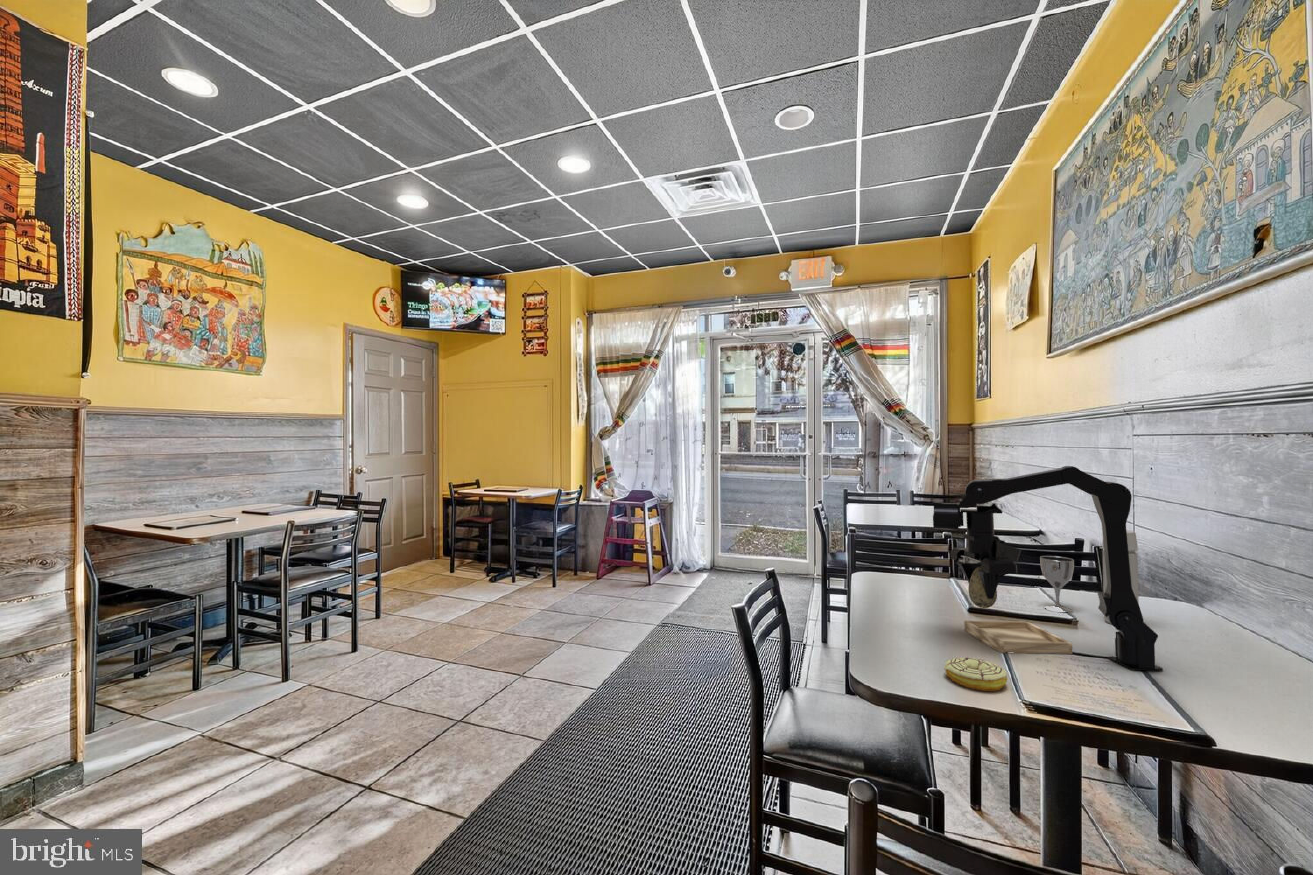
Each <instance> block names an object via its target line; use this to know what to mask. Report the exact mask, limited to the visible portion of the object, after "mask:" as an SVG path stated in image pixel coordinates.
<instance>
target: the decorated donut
mask: <svg viewBox="0 0 1313 875" xmlns="http://www.w3.org/2000/svg"><path fill="white" fill-rule="evenodd" d="M944 671H945V673H946V676H947V677H948V678H949V679H951V681H952V682H954V683H957V685H960V686H963V687H965V688H967V689H972V690H976V691H982V692H995V691H999V690H1001V689H1002V688H1003V687H1005V686H1006V684H1007V682H1008V673H1007V671H1006V670H1005V669H1004V668H1003V667H1001V666H1000V665H998V664H996V663H993V662H990V661H987V660H984V659H979V658H973V657H955V658H952V659H948V660H946V662H945V664H944Z"/></svg>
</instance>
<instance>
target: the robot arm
mask: <svg viewBox="0 0 1313 875" xmlns="http://www.w3.org/2000/svg"><path fill="white" fill-rule="evenodd" d="M1061 485H1071V486H1073V487H1075V488H1076V489H1079V491H1082V492H1084V493H1087V494H1088V495H1090V496H1091V497H1092V501H1093V504H1094V507H1095V511H1096V513H1097V514H1098V517H1099V519H1100V523H1101V530H1102V543H1104V549H1103V550H1104V554H1105V564H1106V575H1107V587H1106V590H1105V593H1104V592H1103V591H1099V590H1098V591H1097V592H1096V593H1097V597H1098V600H1099V606H1098V610H1099V611H1100V612H1101V613H1102V615H1103V617H1104V616H1105V617H1106V619H1107V620H1108V621H1109V622H1110V623H1111V624H1110V623H1109V624H1110V625H1111V626H1113V627H1114V628H1115V630H1117V631H1115V638H1114V641H1115V643H1114V648H1115V650H1114V651H1115V654H1114V655H1115V656H1108V659H1109V660H1111V661H1112V662H1115V663H1116V664H1118V665H1120V666H1123V667H1125V668H1126V669H1129V668H1130V669H1129V670H1131V669H1133V670H1132V671H1146V672H1147V671H1151V672H1153V671H1155V672H1157V671H1158V672H1160V671H1161V672H1162V671H1164V668H1162V667H1160V666H1158V665H1157V664H1156V656H1155V655H1156V652H1155V651H1156V648H1155V645H1156V642H1157V641H1158V637H1159V635H1158V633H1156V632H1155V631H1154V630H1153V629H1152V628H1151V627H1150V626H1149V625H1147V624H1146V623H1145V622H1144V616H1143V614H1142V610H1141V607H1140V604H1138V602H1137V599H1136V597H1135V594H1134V592H1133V590H1132V584H1131V573H1130V563H1129V552H1128V542H1127V531H1126V530H1127V521H1128V518H1129V515H1130V512H1131V505H1132V504H1131V503H1132V498H1133V497H1132V493H1131V491H1130V489H1129V488H1127V486H1125V485H1124V484H1122V483H1117V482H1114V481H1104V480H1102V479H1100V478H1097V477H1095V476H1093V475H1091V474H1090V473H1086V472H1084V471H1082V470H1080V468H1078V467H1076V466H1073V465H1064V466H1062V467H1060V468H1059V467H1058V468H1054V469H1049V470H1044V471H1039V472H1033V473H1028V474H1022V475H1017V476H1012V477H1007V478H982V479H973V480H971V481H969V482H968V483H967V484H966V485H965V489H964V491H965V494H964V495H963V496H962V497H961V498H960V499H958V500H959V501H958V502H955V503H953V502H942V501H941V502H940V501H934V502H933V514H932V524H933V530H948V531H959V528H962V527H964V513H965V514H966V515H965V516H966V533H963V539H965V540H966V542H967V547H953V548H952V549H951V550H950V559H951V560H955V561H956V564H957V565H958V566H959V569H960V570H961V572H962V573H963V575H964V577H965V579H966V581H967V582H968V584H969V582H970V578H971V576H972V573H973V572H974V570H975V569H976V568H978V567H980V566H981V567H982V569H983V570H978V573H979V576H980V578H981V581H982V584H983V587H984V590H985V593H986V595H987V598H988V599H993V598H994V595H995V592H996V589H997V588H998V585H999V583H1000V580H1001V579H1002V578H1003V577H1004V576H1006V575H1009V574H1018V564H1017V563H1018V561H1019V559H1020V556H1021V552H1022V550H1021V549H1019V548H1017V547H1015V546H1010V545H1008V544H1006V541H1005V540H1003V539H1000V537H999V536H997V535H995V525H994V514H1003V510H1002V509H1001V508H1000V507H999V506H997V504H996V503H995V502H992V501H996V500H998V499H999V500H1000V499H1002V498H1003V497H1006V496H1009V495H1012V494H1017V493H1023V492H1028V491H1033V490H1039V489H1044V488H1045V489H1046V488H1051V487H1057V486H1061ZM990 502H992V503H991V505H984V504H987V503H990ZM974 505H976V508H974V509H972V508H971V507H972V506H974ZM969 508H970V509H969Z"/></svg>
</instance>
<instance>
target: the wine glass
mask: <svg viewBox="0 0 1313 875" xmlns="http://www.w3.org/2000/svg"><path fill="white" fill-rule="evenodd" d="M1039 560H1040V561H1039V562H1040V569H1041V573H1042V576H1043V577H1044V579H1045V580H1046V581H1047V582H1048V583H1049V584H1050V585H1051V586H1052V587H1053V588H1052V589H1053V590H1054V593H1055V594H1054V595H1055V604H1054V605H1053V606H1055V607H1059V608H1061V609H1062V610H1063V611H1067V612H1068V613H1067V614H1071V613H1073V612H1074V611H1073V610H1072V609H1071V608H1067V607H1064V606H1061V604H1060V594H1061V590H1062V588H1063V587H1064V586H1066V585H1067V584H1068V583H1069V582H1070V581H1071V580H1072V578H1073V574H1074V570H1075V560H1074V559H1073V558H1069V557H1065V556H1059V555H1058V556H1057V555H1040V557H1039Z"/></svg>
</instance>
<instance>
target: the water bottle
mask: <svg viewBox="0 0 1313 875" xmlns="http://www.w3.org/2000/svg"><path fill="white" fill-rule="evenodd" d="M1126 531H1127V542H1128V552H1129V563H1130V573H1131V584H1132V590H1133V592H1134V594H1135V597H1136V599H1137V602H1138V604H1139V571H1138V569H1139V566H1138V565H1139V564H1138V551H1139V547H1138V540H1137V535H1136V534H1137V532H1135V531H1133V530H1127V529H1126ZM1101 544H1102V546H1100V547H1099V549H1102V582H1103V583H1102V586H1103V587H1102V588H1103V591H1102V592H1104V593H1105V590H1106V587H1107V575H1106V564H1105V554H1104V543H1103V542H1102V543H1101ZM1139 605H1140V604H1139ZM1103 619H1104V620H1105V621H1106V622H1107V623H1108V624H1110V625H1112V624H1111V623H1110V622H1109V621H1108V620H1107V619H1106V617H1105V616H1104V615H1103Z"/></svg>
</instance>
